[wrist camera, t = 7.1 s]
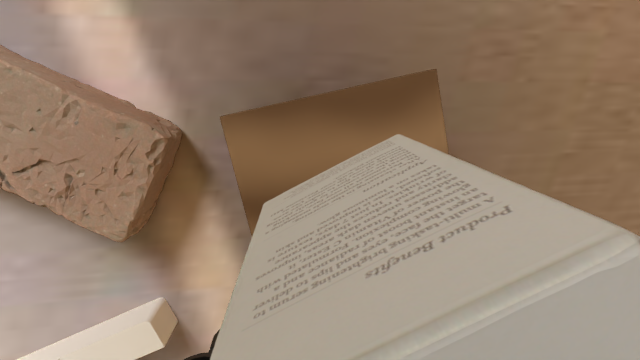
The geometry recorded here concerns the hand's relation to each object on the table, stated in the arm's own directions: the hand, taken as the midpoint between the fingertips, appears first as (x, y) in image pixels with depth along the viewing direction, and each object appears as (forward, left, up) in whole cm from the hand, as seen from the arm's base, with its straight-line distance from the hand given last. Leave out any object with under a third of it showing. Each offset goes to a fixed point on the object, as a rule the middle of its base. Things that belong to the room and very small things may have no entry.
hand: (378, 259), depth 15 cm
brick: (-7, -19, -17) cm, 27 cm away
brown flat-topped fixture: (0, 0, -17) cm, 17 cm away
